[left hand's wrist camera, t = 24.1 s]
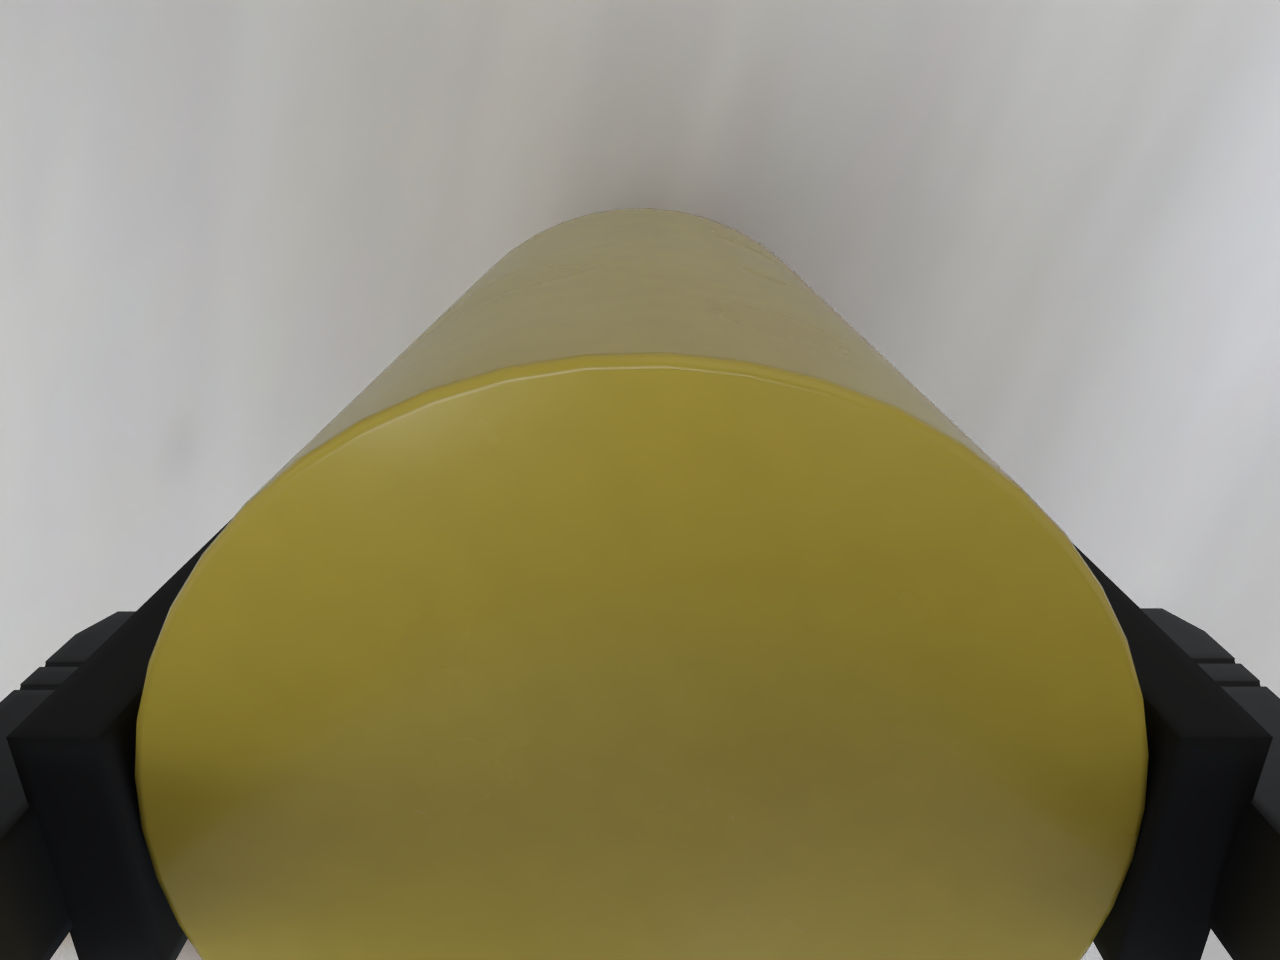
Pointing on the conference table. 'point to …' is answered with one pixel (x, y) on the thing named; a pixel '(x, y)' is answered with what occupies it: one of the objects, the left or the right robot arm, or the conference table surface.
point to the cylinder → (641, 650)
